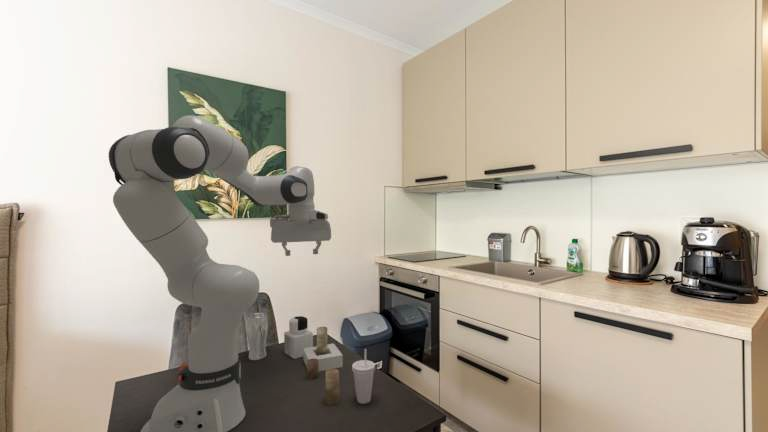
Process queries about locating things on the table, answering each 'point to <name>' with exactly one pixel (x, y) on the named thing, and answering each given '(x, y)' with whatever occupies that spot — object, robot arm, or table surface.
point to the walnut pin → (312, 369)
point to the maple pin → (322, 341)
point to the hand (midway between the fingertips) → (301, 254)
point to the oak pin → (332, 386)
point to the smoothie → (363, 379)
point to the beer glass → (257, 335)
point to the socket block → (324, 357)
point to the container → (297, 337)
